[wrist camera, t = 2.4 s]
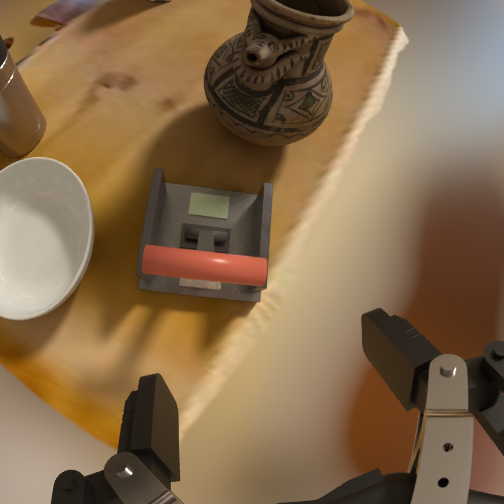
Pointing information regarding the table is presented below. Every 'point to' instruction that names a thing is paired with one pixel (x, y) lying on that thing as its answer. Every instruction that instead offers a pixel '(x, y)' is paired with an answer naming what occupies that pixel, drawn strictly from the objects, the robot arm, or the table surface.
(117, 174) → the table surface
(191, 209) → the switch box
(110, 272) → the table surface
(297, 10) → the decorative pitcher
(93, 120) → the table surface
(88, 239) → the serving bowl
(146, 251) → the switch lever
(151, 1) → the candy bar box
